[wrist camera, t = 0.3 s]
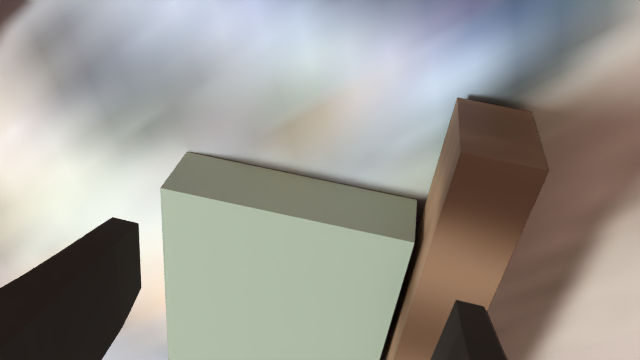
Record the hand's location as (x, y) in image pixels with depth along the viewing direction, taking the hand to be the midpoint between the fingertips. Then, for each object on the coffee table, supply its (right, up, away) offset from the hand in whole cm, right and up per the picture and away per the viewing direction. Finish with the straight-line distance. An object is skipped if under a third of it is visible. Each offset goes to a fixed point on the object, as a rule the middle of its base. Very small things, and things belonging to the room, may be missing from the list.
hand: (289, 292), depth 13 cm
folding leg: (+5, -2, +10) cm, 11 cm away
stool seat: (-1, -1, +12) cm, 12 cm away
